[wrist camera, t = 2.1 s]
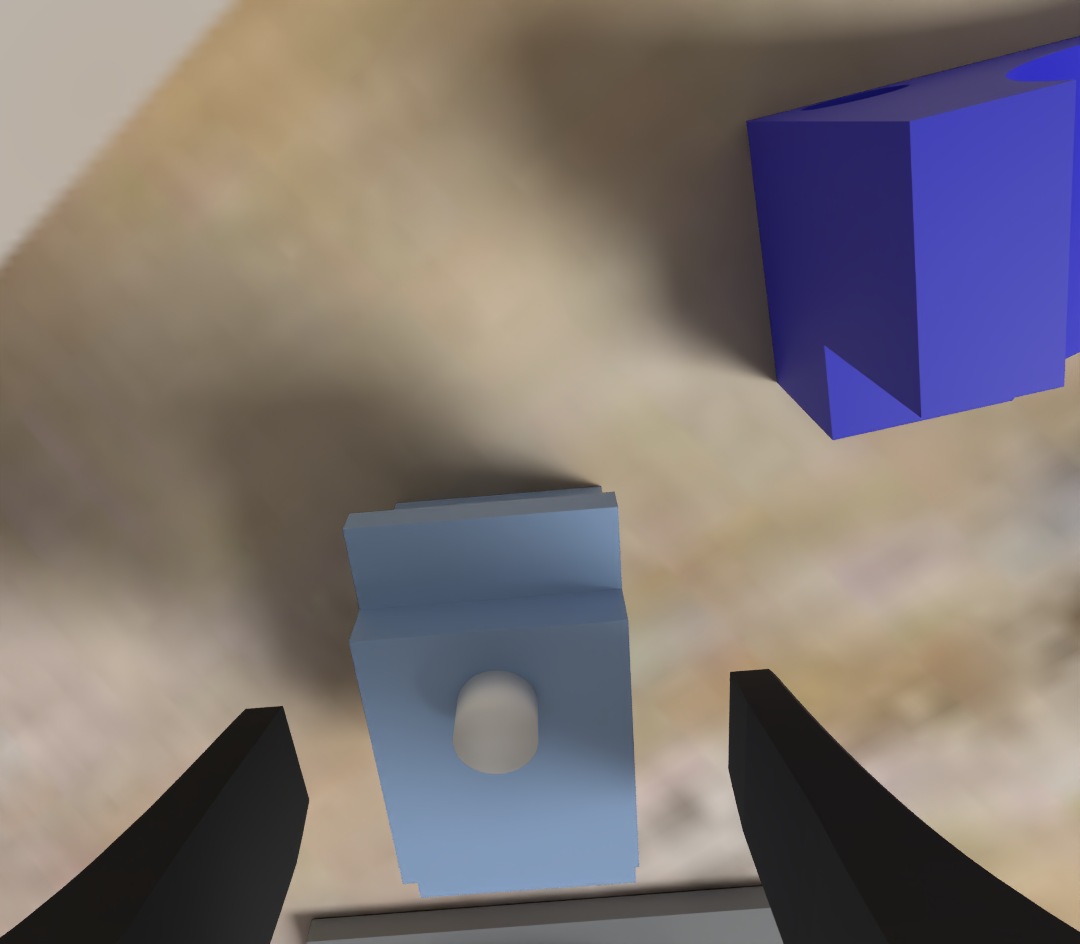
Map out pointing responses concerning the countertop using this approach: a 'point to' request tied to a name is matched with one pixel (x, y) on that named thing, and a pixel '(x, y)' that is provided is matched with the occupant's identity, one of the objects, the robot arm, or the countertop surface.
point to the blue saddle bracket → (924, 241)
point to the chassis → (573, 922)
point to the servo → (498, 688)
